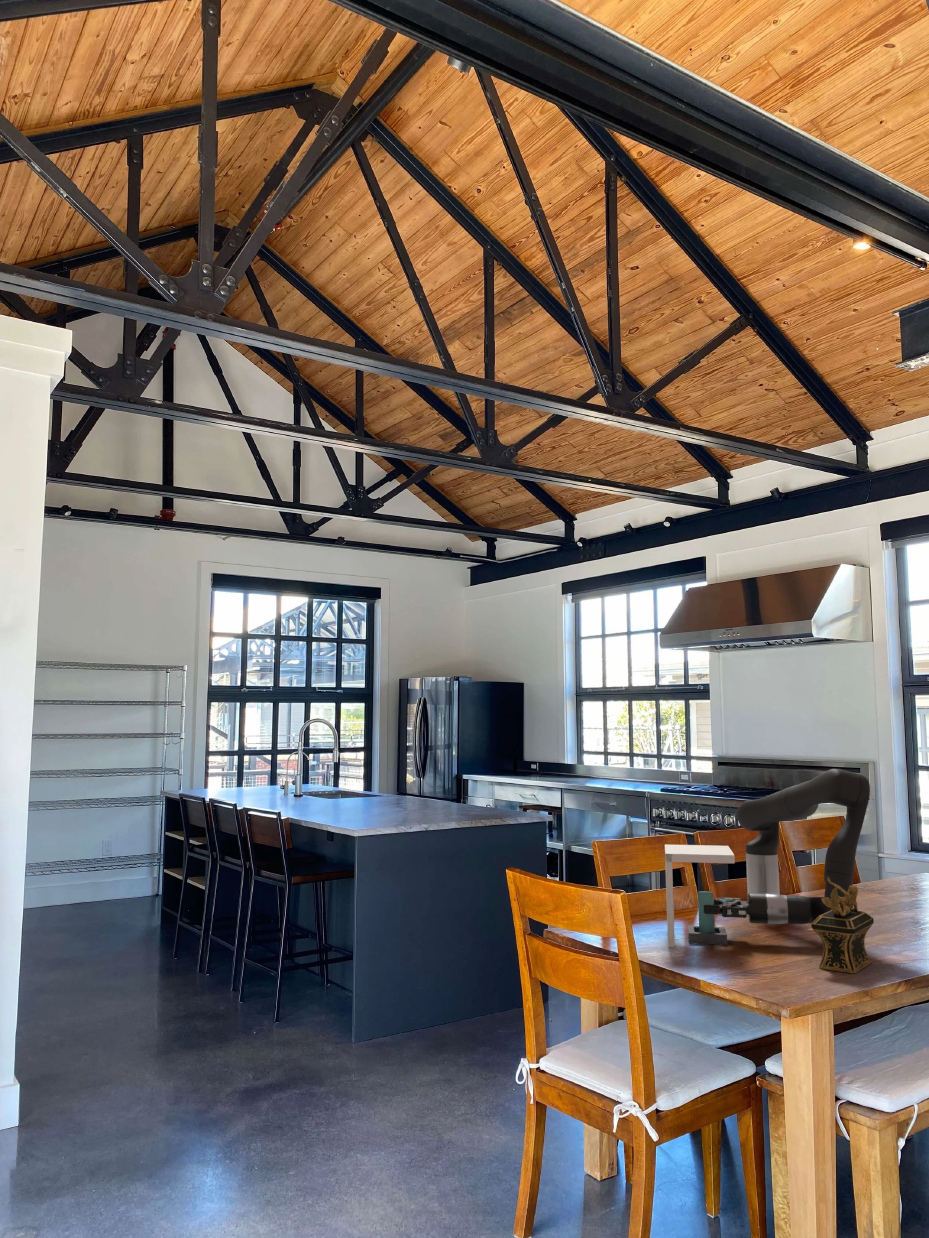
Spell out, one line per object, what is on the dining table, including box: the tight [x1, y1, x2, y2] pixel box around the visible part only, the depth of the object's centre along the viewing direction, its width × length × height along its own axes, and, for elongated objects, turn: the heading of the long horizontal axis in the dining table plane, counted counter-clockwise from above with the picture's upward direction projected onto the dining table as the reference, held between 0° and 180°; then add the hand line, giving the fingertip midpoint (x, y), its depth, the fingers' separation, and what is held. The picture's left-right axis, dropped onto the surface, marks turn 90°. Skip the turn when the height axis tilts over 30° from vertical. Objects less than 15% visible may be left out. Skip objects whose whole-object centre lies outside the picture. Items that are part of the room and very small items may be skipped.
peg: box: [697, 890, 716, 933], centre depth 231 cm, size 4×4×12 cm
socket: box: [687, 925, 728, 946], centre depth 230 cm, size 10×10×2 cm
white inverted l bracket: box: [664, 843, 736, 948], centre depth 232 cm, size 20×17×23 cm
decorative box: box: [810, 876, 875, 975], centre depth 204 cm, size 20×10×20 cm, turn 140°
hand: (702, 906), depth 232 cm, fingers open, 8 cm apart
